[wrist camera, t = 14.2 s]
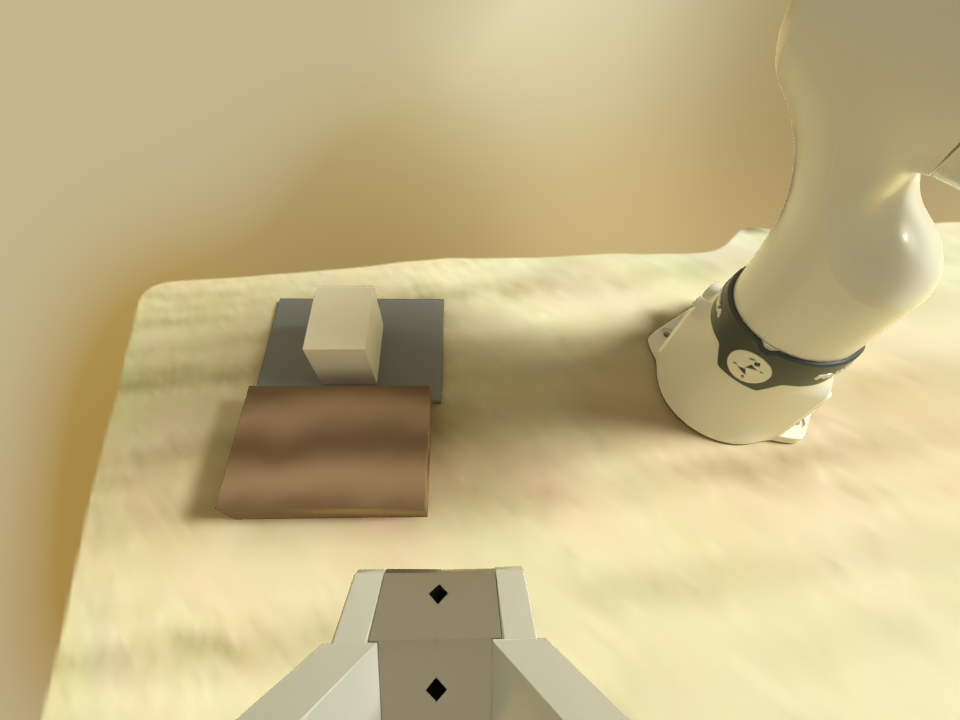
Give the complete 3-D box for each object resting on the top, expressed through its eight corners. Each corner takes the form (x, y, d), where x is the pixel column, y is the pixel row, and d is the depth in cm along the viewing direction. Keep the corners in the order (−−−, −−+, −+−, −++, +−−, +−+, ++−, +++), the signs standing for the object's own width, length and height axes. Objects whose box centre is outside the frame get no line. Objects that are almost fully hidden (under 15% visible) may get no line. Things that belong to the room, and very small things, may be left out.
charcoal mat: (281, 301, 56) (280, 298, 56) (443, 302, 57) (443, 299, 56) (254, 403, 49) (252, 401, 48) (440, 402, 50) (440, 400, 49)
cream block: (321, 384, 50) (332, 324, 54) (376, 383, 50) (383, 324, 54) (302, 349, 44) (316, 285, 48) (365, 349, 44) (373, 286, 48)
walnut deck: (264, 403, 49) (249, 386, 45) (431, 403, 49) (429, 385, 46) (234, 519, 42) (214, 508, 39) (427, 516, 43) (424, 506, 40)
